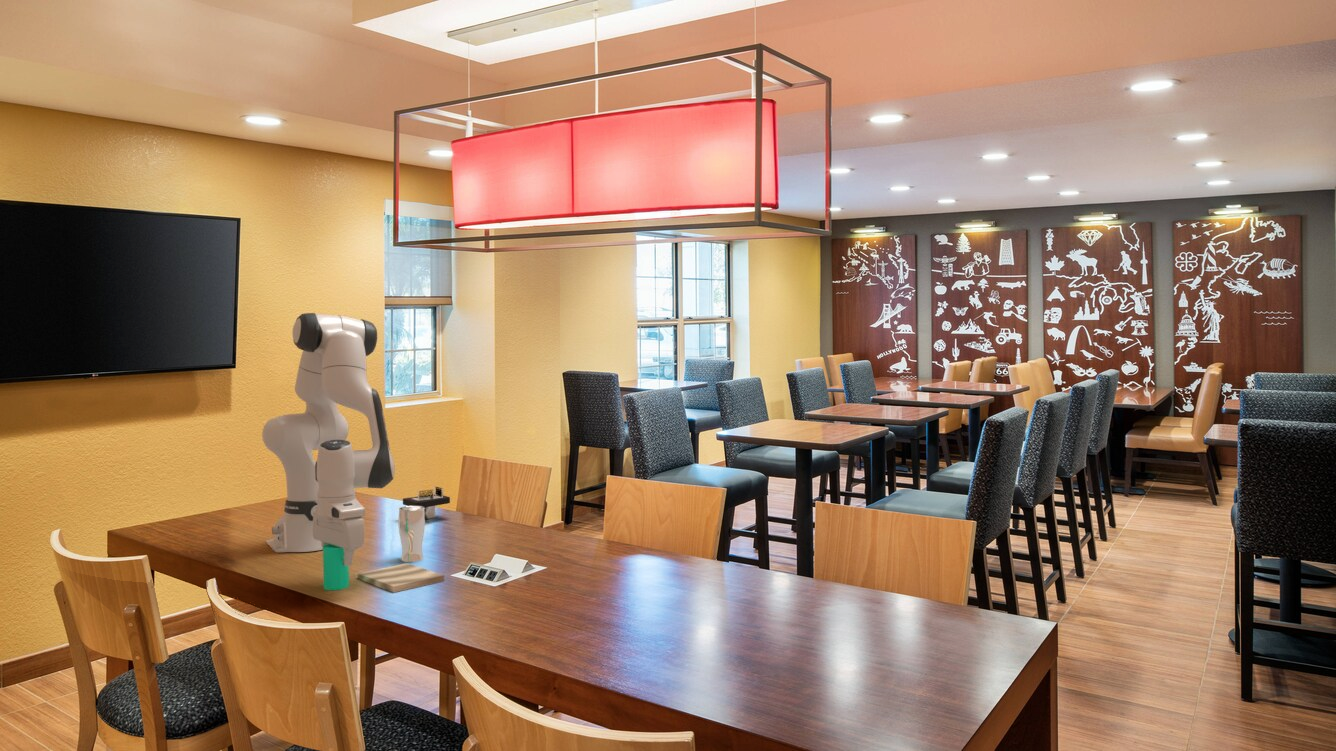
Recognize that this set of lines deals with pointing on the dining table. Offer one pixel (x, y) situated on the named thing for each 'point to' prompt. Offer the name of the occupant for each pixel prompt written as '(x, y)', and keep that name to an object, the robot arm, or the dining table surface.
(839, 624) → the dining table surface
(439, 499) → the black-topped pedestal
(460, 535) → the dining table surface
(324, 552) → the candle
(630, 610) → the dining table surface
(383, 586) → the birch board
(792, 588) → the dining table surface
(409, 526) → the beer glass
